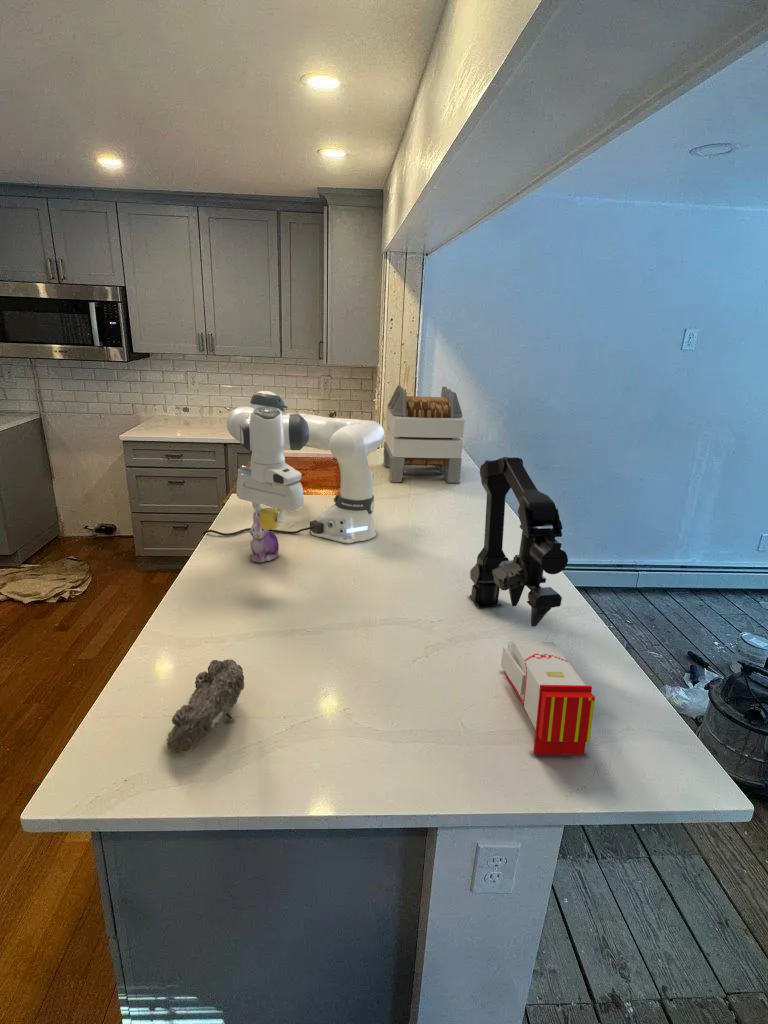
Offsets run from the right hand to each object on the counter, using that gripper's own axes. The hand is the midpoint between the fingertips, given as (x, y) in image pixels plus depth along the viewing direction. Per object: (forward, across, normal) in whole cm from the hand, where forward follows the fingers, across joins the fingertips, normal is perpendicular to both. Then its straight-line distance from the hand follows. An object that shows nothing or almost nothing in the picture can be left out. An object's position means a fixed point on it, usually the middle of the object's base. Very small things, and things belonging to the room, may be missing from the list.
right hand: (523, 615), depth 131 cm
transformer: (+9, -148, +26) cm, 151 cm away
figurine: (+9, -63, -54) cm, 84 cm away
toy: (+9, +19, -6) cm, 22 cm away
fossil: (+9, +9, -70) cm, 71 cm away
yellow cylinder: (-9, -44, -54) cm, 70 cm away
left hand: (-10, -44, -54) cm, 71 cm away
